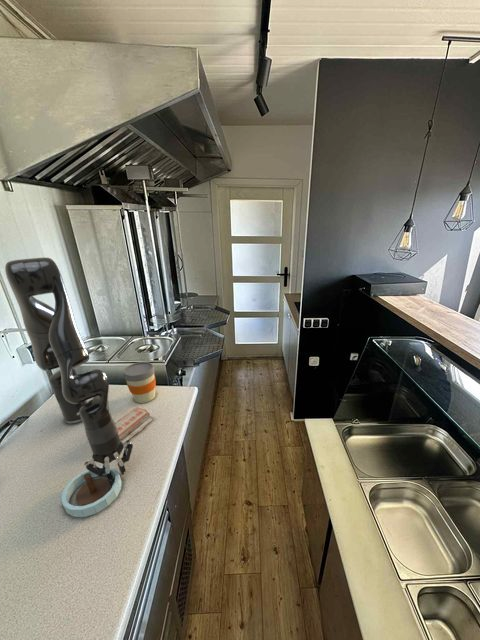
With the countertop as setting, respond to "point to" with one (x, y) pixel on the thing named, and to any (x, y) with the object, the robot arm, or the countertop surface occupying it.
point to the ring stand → (92, 490)
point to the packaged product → (132, 423)
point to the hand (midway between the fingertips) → (117, 476)
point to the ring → (93, 507)
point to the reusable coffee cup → (141, 381)
